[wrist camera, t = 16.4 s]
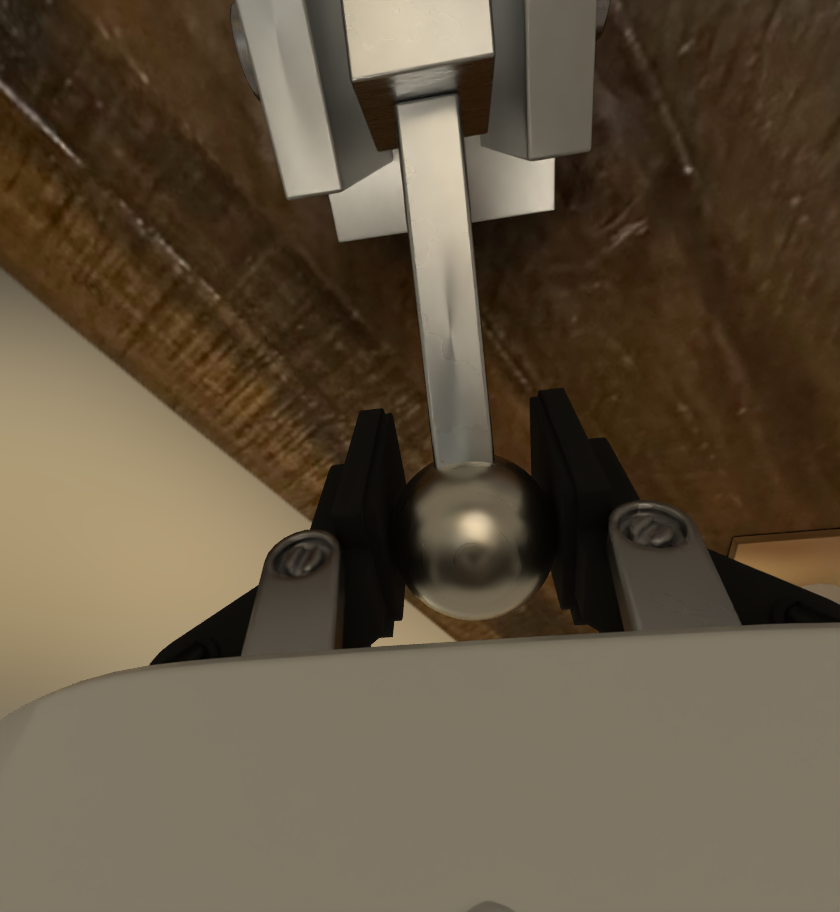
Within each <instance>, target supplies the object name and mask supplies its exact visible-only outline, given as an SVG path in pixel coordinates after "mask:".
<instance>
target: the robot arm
mask: <svg viewBox="0 0 840 912" xmlns="http://www.w3.org/2000/svg"><path fill="white" fill-rule="evenodd" d="M530 435H531V476H532V478H534V479H535V481H536V482H537V483H538V484H539V485H540V487H541V488H542V490H543V491H544V493H545V494H546V496H547V498H548V500H549V503H550V505H551V507H552V510H553V513H554V516H555V521H556V529H557V548H556V555H555V559H554V562H553V566H552V568H551V573H552V577H553V580H554V584H555V588H556V592H557V596H558V600H559V604H560V607H561V609H562V610H564V609H570V610H571V614H572V618H573V621H574V625H586V624H588V625H589V626H591V627H593V628H594V629H596V630H598V631H599V633H592V634H574V635H557V636H540V637H524V638H508V639H492V640H475V641H459V642H444V643H428V644H413V645H397V646H381V647H371V644H372V643H374V642H375V641H376V640H377V639H378V638H385V637H393V628H394V621H401V620H402V618H403V607H404V594H405V582H404V580H403V579H402V577H401V576H400V574H399V572H398V570H397V568H396V565H395V562H394V559H393V555H392V550H391V542H390V526H391V520H392V515H393V511H394V508H395V505H396V503H397V500H398V498H399V496H400V494H401V492H402V491H403V489H404V488H405V486H406V480H405V475H404V470H403V464H402V459H401V454H400V449H399V444H398V439H397V434H396V429H395V423H394V419H393V415H392V413H389V414H385V413H384V410H383V408H381V409H372V410H363V411H360V412H359V415H358V419H357V422H356V426H355V429H354V433H353V436H352V440H351V443H350V447H349V450H348V454H347V457H346V461H345V464H339V465H333V466H331V468H330V470H329V473H328V476H327V479H326V482H325V485H324V488H323V491H322V494H321V497H320V500H319V503H318V507H317V510H316V513H315V516H314V519H313V522H312V525H311V528H310V530H304V531H300V532H296V533H294V534H292V535H290V536H287V537H286V538H284V539H283V540H281V541H280V542H278V543H277V544H276V545H275V546H274V547H273V548H272V549H271V550H270V551H269V553H268V555H267V557H266V559H265V562H264V566H263V570H262V574H261V578H260V582H259V585H258V586H256V587H255V588H253V589H252V590H250V591H249V592H247V593H246V594H244V595H243V596H241V597H240V598H238V599H237V600H235V601H234V602H232V603H231V604H229V605H228V606H226V607H225V608H223V609H222V610H220V611H219V612H217V613H216V614H214V615H213V616H211V617H210V618H208V619H207V620H205V621H204V622H202V623H201V624H199V625H198V626H196V627H195V628H193V629H192V630H190V631H189V632H187V633H186V634H184V635H183V636H181V637H180V638H178V639H177V640H175V641H174V642H172V643H171V644H169V645H168V646H167V647H166V648H164V649H163V650H162V651H161V652H160V653H159V654H158V655H157V656H156V657H155V658H154V660H153V661H152V662H151V663H150V665H148V666H143V667H138V668H133V669H127V670H122V671H117V672H113V673H109V674H105V675H101V676H98V677H94V678H91V679H87V680H84V681H80V682H77V683H75V684H72V685H70V686H67V687H65V688H62V689H60V690H57V691H55V692H52V693H49V694H47V695H45V696H42V697H40V698H38V699H36V700H34V701H32V702H30V703H28V704H26V705H24V706H22V707H21V708H19V709H17V710H15V711H14V712H12V713H10V714H8V715H7V716H5V717H4V718H2V719H1V720H0V912H840V604H838V603H836V602H834V601H832V600H830V599H828V598H825V597H823V596H821V595H818V594H816V593H813V592H811V591H808V590H806V589H804V588H801V587H799V586H796V585H794V584H792V583H789V582H787V581H784V580H782V579H779V578H777V577H775V576H772V575H770V574H767V573H765V572H763V571H760V570H758V569H755V568H753V567H750V566H748V565H746V564H743V563H741V562H738V561H736V560H733V559H731V558H729V557H726V556H724V555H721V554H719V553H717V552H714V551H712V550H709V549H707V548H706V546H705V543H704V541H703V539H702V537H701V535H700V533H699V530H698V528H697V526H696V524H695V523H694V522H693V520H692V519H691V517H690V516H688V515H687V514H686V513H684V512H683V511H682V510H680V509H678V508H676V507H674V506H671V505H669V504H666V503H662V502H658V501H649V500H640V499H639V497H638V495H637V493H636V491H635V489H634V488H633V486H632V484H631V482H630V480H629V479H628V477H627V475H626V473H625V471H624V469H623V468H622V466H621V464H620V462H619V460H618V459H617V457H616V455H615V453H614V451H613V449H612V448H611V446H610V444H609V442H608V441H607V439H606V438H593V439H588V438H587V436H586V433H585V431H584V429H583V427H582V425H581V423H580V421H579V419H578V417H577V415H576V413H575V411H574V409H573V407H572V405H571V403H570V401H569V399H568V397H567V395H566V393H565V390H564V389H563V388H557V389H548V390H540V391H539V392H538V397H531V398H530Z"/></svg>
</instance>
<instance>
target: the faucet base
mask: <svg viewBox="0 0 840 912" xmlns="http://www.w3.org/2000/svg"><path fill="white" fill-rule="evenodd" d="M491 3H492V15H493V27H494V38H495V50H496V56H495V66H494V76H493V87H492V97H491V107H490V117H489V128H488V133H486V134H481V135H475V136H470V137H464V146H465V156H466V167H467V177H468V187H469V198H470V208H471V219H472V223H474V222H481V221H487V220H494V219H500V218H507V217H514V216H520V215H527V214H534V213H540V212H547V211H553V210H555V158H557V157H563V156H569V155H575V154H581V153H587V152H589V151H590V149H591V143H592V117H593V91H594V65H595V42H596V41H597V40H598V39H599V38H600V37H601V35H602V33H603V30H604V27H605V24H606V20H607V16H608V12H609V6H610V0H491ZM230 17H231V27H232V33H233V38H234V43H235V47H236V51H237V54H238V57H239V61H240V64H241V67H242V69H243V72H244V75H245V77H246V79H247V82H248V84H249V86H250V88H251V89H252V91H253V93H254V95H255V96H256V98H257V99H258V100H259V101H261V104H262V108H263V111H264V115H265V119H266V123H267V127H268V131H269V135H270V138H271V142H272V146H273V150H274V154H275V158H276V162H277V165H278V169H279V173H280V177H281V181H282V185H283V189H284V192H285V196H286V198H287V200H290V201H291V200H297V199H303V198H309V197H315V196H322V195H328V196H329V200H330V205H331V210H332V214H333V219H334V224H335V228H336V233H337V237H338V241H339V242H340V243H341V242H348V241H355V240H361V239H368V238H375V237H381V236H388V235H394V234H401V233H408V230H407V221H406V213H405V204H404V195H403V186H402V177H401V169H400V160H399V151H398V149H393V150H387V151H381V152H379V151H377V149H376V146H375V144H374V141H373V138H372V136H371V133H370V131H369V128H368V125H367V123H366V120H365V118H364V115H363V112H362V110H361V107H360V104H359V102H358V99H357V97H356V94H355V91H354V89H353V86H352V83H351V81H350V74H349V66H348V58H347V50H346V42H345V34H344V26H343V18H342V10H341V2H340V0H235V1H234V2H233V3H232V5H231V10H230Z"/></svg>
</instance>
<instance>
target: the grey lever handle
mask: <svg viewBox="0 0 840 912" xmlns="http://www.w3.org/2000/svg"><path fill="white" fill-rule="evenodd" d="M340 2H341V10H342V18H343V26H344V34H345V42H346V50H347V58H348V66H349V74H350V81H351V83H352V86H353V89H354V91H355V94H356V97H357V99H358V102H359V104H360V107H361V110H362V112H363V115H364V118H365V120H366V123H367V125H368V128H369V131H370V133H371V136H372V138H373V141H374V144H375V146H376V149H377V151H379V152H381V151H387V150H393V149H398V151H399V160H400V169H401V177H402V186H403V195H404V204H405V213H406V221H407V230H408V239H409V248H410V256H411V265H412V274H413V283H414V291H415V300H416V309H417V318H418V326H419V335H420V344H421V353H422V362H423V370H424V379H425V388H426V397H427V405H428V414H429V423H430V432H431V440H432V449H433V458H434V462H432V463H430V464H429V465H427V466H426V467H424V468H423V469H422V470H420V471H419V472H418V473H417V474H416V475H415V476H414V477H413V478H412V479H411V480H410V481H409V482H408V484H407V485H406V486H405V488H404V489H403V491H402V492H401V494H400V496H399V498H398V500H397V503H396V505H395V508H394V511H393V515H392V520H391V526H390V542H391V550H392V555H393V559H394V562H395V565H396V568H397V570H398V572H399V574H400V576H401V577H402V579H403V580H404V582H405V583H406V585H407V586H408V588H409V589H410V590H411V591H412V592H413V594H414V595H415V596H416V597H417V598H419V599H420V600H421V601H422V602H423V603H425V604H426V605H427V606H429V607H430V608H432V609H434V610H436V611H438V612H440V613H442V614H445V615H447V616H450V617H454V618H458V619H464V620H486V619H492V618H496V617H500V616H503V615H505V614H508V613H510V612H512V611H514V610H516V609H518V608H519V607H521V606H522V605H524V604H525V603H526V602H528V601H529V600H530V599H531V598H532V597H533V596H534V595H535V594H536V593H537V592H538V590H539V589H540V588H541V587H542V585H543V583H544V582H545V580H546V578H547V577H548V575H549V573H550V570H551V568H552V566H553V562H554V559H555V555H556V548H557V529H556V521H555V516H554V513H553V510H552V507H551V505H550V503H549V500H548V498H547V496H546V494H545V493H544V491H543V490H542V488H541V487H540V485H539V484H538V483H537V482H536V481H535V479H534V478H532V477H531V476H530V475H529V474H528V473H527V472H526V471H525V470H523V469H522V468H521V467H519V466H518V465H516V464H515V463H513V462H511V461H509V460H507V459H505V458H502V457H499V456H496V455H494V448H493V438H492V427H491V417H490V406H489V396H488V385H487V375H486V365H485V354H484V344H483V333H482V323H481V313H480V302H479V292H478V281H477V271H476V260H475V250H474V240H473V229H472V219H471V208H470V198H469V187H468V177H467V167H466V156H465V146H464V137H470V136H475V135H481V134H486V133H488V128H489V117H490V107H491V97H492V87H493V76H494V66H495V56H496V50H495V38H494V27H493V15H492V3H491V0H340Z"/></svg>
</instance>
